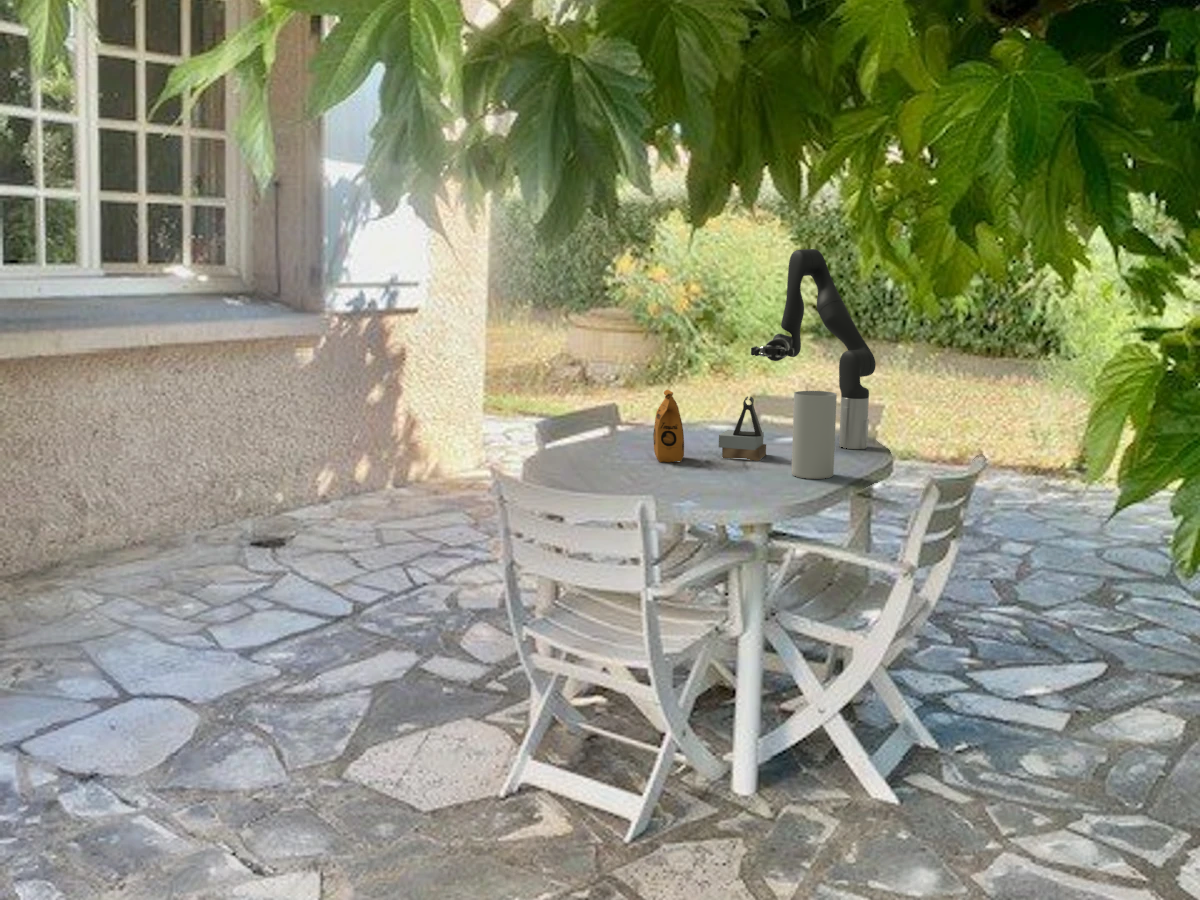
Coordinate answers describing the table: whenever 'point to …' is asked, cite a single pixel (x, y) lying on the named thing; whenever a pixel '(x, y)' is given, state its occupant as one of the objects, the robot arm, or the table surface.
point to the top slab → (740, 441)
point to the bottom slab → (745, 453)
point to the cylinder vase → (813, 434)
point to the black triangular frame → (754, 420)
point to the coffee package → (668, 431)
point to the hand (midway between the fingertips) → (768, 353)
